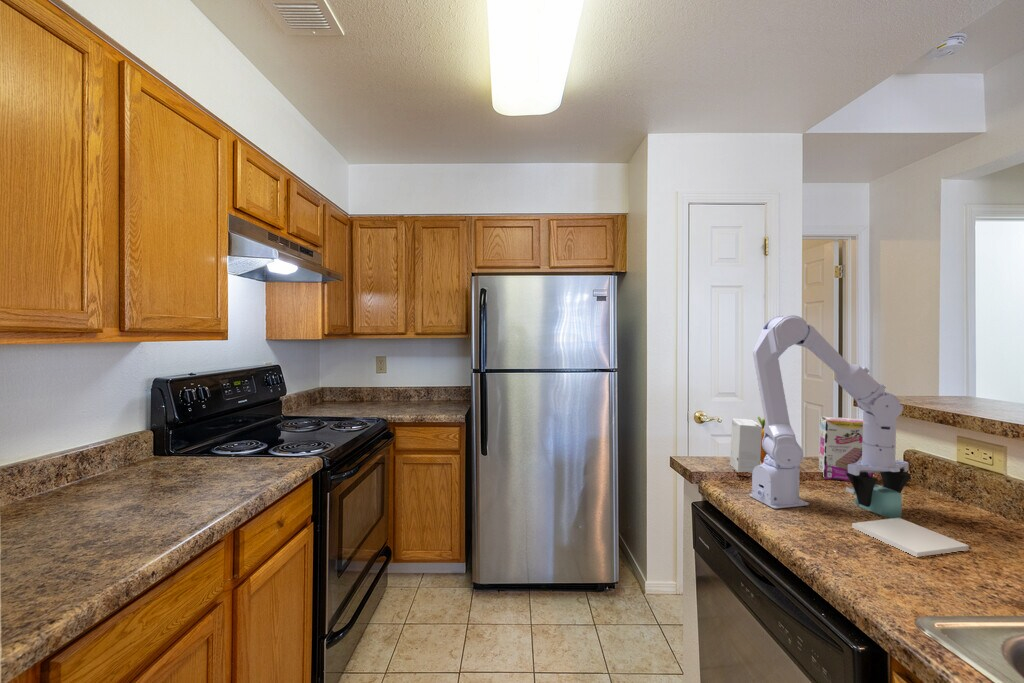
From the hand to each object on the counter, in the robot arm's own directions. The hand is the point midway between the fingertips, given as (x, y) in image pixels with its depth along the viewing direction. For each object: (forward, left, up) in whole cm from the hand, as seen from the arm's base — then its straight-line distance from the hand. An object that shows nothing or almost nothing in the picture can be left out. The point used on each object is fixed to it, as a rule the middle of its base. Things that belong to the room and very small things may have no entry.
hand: (877, 503), depth 98 cm
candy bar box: (+12, +18, -2) cm, 22 cm away
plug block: (0, 0, -1) cm, 1 cm away
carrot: (-1, +32, -2) cm, 32 cm away
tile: (-8, -12, -1) cm, 14 cm away
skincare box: (-11, +28, -2) cm, 30 cm away
